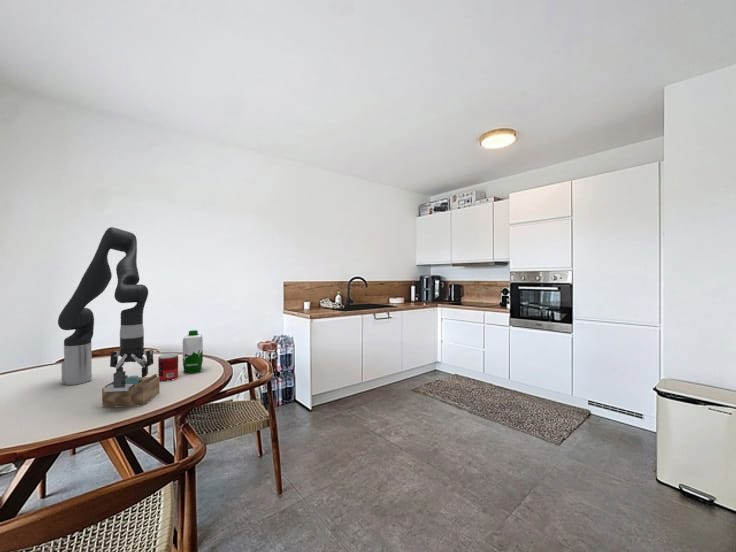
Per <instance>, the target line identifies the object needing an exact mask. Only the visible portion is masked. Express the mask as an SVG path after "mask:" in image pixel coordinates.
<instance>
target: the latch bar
mask: <svg viewBox="0 0 736 552" xmlns="http://www.w3.org/2000/svg"><path fill="white" fill-rule="evenodd" d="M125 375H126V371H124V370H123V371H120V372H116V371H115V373H113V381H114V385H109V386H108V387H106V388H104V387H103V388H104V392H113V391H129V390H130V389H132V388H134V387H135V384H125Z"/></svg>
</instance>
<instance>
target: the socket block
mask: <svg viewBox="0 0 736 552" xmlns="http://www.w3.org/2000/svg"><path fill="white" fill-rule="evenodd" d="M127 377H129V376H128V374H127V375H126V374H125V384H126V378H127ZM109 385H114V380H112V382H110V383H108V384H106V385H105V386H104V387H103V388H101V408H102V407H104V408H117V407H116V406H125V407H141V406H140V405H144V406H145V405H146V404H147V402H148V401H149V402H151V399H152V400H153V399H154V398H156V397H157V396H159V394H160V380H159V376H158V375H157V373H155V374H153V375H151V376H145V377H142V376H141V377H139V376H138V384H136V385H135V387H134V388H132V389H130V390H129V391H113V392H104V388H106V387H108V386H109ZM149 402H148V403H149ZM137 405H139V406H137Z"/></svg>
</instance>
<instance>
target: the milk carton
mask: <svg viewBox="0 0 736 552" xmlns="http://www.w3.org/2000/svg"><path fill="white" fill-rule="evenodd" d="M203 338H204V337H203V334H202V333H199V331H198V330H197V329H196V330H193V329H192V330H189V331H188V334H185V335H184V336H183V338H182V366H183V374H184V375H186V374H185V373H190V374H197V372H199V373H201V372H202V371H201V370H202V367H203V366H202V365H203V360H204V358H203V357H204V355H203V354H204V349H203V347H204V344H203V342H204V340H203Z"/></svg>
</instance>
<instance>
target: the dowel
mask: <svg viewBox="0 0 736 552" xmlns="http://www.w3.org/2000/svg"><path fill="white" fill-rule="evenodd" d="M138 377H139V375H129V376H128V377H127V378H126V384H135V385H136V384H138Z"/></svg>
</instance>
